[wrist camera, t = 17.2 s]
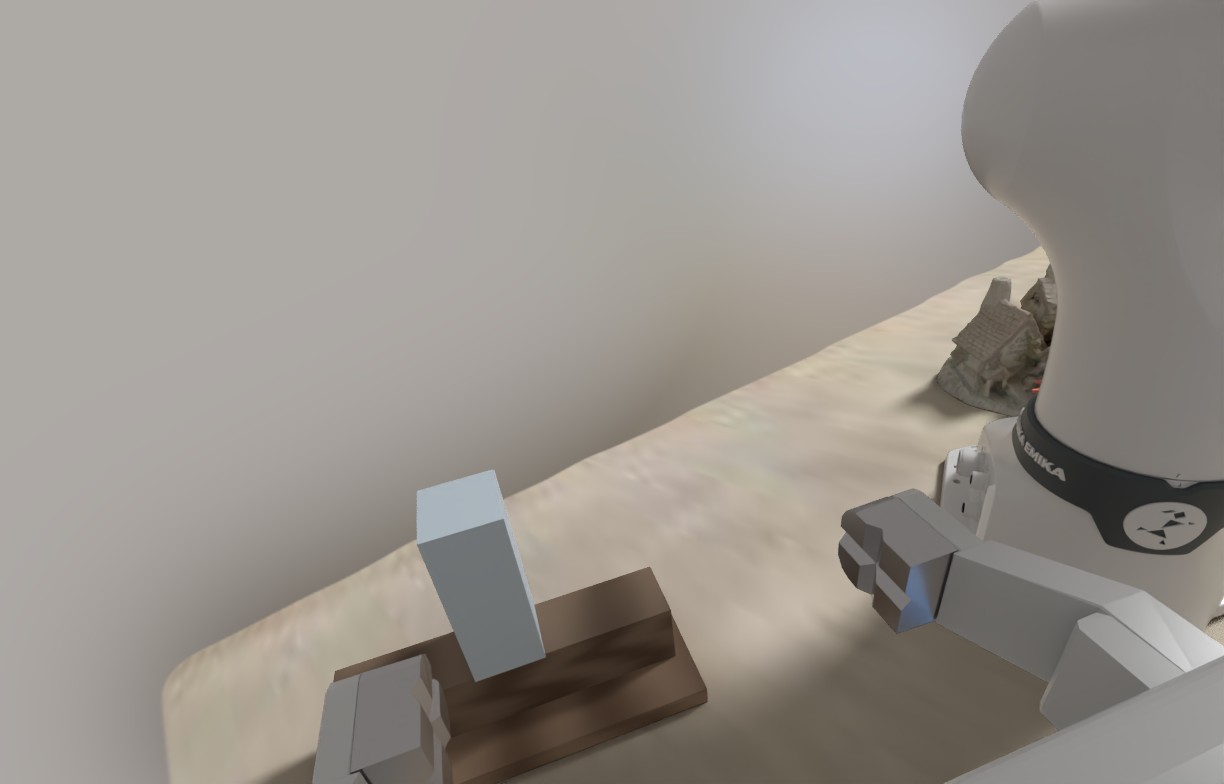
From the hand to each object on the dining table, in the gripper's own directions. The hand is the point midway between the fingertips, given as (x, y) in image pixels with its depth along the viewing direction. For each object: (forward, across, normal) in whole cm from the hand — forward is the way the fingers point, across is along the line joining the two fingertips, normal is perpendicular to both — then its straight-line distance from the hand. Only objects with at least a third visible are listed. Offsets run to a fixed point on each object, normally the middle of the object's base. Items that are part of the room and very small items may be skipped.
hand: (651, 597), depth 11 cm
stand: (+19, +6, +30) cm, 36 cm away
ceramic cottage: (+33, -55, +30) cm, 71 cm away
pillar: (+19, +5, +24) cm, 31 cm away
